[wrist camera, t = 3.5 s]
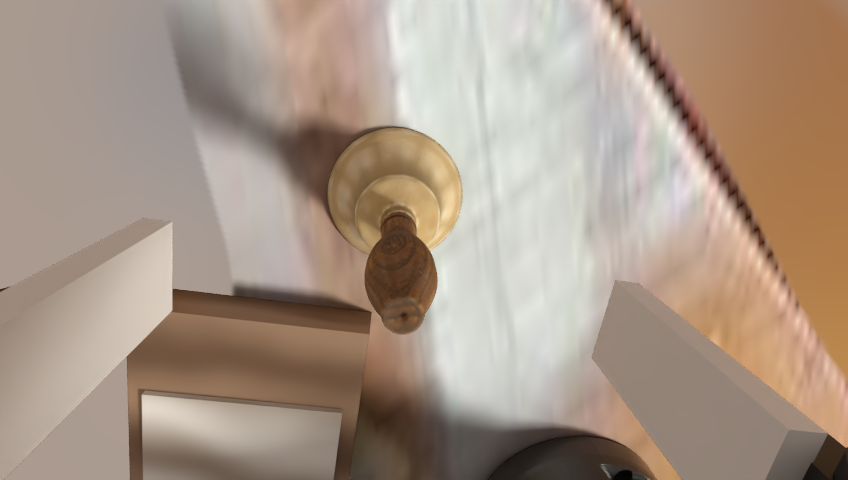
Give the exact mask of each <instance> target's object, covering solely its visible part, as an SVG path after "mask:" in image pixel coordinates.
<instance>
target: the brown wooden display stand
mask: <svg viewBox="0 0 848 480" xmlns="http://www.w3.org/2000/svg"><path fill="white" fill-rule="evenodd" d="M370 322H371V312H365V311H357V310H348V309H340V308H331V307H323V306H314V305H306V304H297V303H289V302H280V301H272V300H263V299H255V298H246V297H238V296H229V295H221V294H212V293H203V292H195V291H187V290H178V289H172V311H171V312H170V313H169V314H168V315H167V316H166V317H165V318H164V319H163V320H162V321H161V322H160V323H159V324H158V325H157V326H156V327H155V328H154V329H153V330H152V331H151V332H150V333H149V334H148V336H147V337H146V338H145V339H144V340H143V341H142V342H141V343H140V344H139V345H138V346H137V347H136V348H135V349H134V350H133V351H132V352H131V353H130V354H129V355H128V356H127V378H128V416H129V456H130V480H349V474H350V467H351V460H352V453H353V445H354V438H355V431H356V424H357V417H358V410H359V403H360V396H361V389H362V382H363V375H364V368H365V361H366V354H367V347H368V340H369V332H370Z"/></svg>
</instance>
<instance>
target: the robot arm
mask: <svg viewBox="0 0 848 480" xmlns="http://www.w3.org/2000/svg"><path fill="white" fill-rule="evenodd" d="M171 311H172V222H171V221H163V220H155V219H148V218H142V219H140V220H139V221H137V222H135V223H133V224H131V225H129V226H127V227H125V228H123V229H121V230H119V231H117V232H115V233H114V234H112V235H110V236H108V237H106V238H104V239H102V240H100V241H98V242H96V243H94V244H92V245H90V246H88V247H86V248H85V249H82V250H81V251H79V252H77V253H75V254H73V255H71V256H69V257H67V258H65V259H63V260H61V261H59V262H57V263H56V264H53V265H52V266H50V267H48V268H46V269H44V270H42V271H40V272H38V273H36V274H34V275H32V276H30V277H28V278H27V279H24V280H23V281H21V282H19V283H17V284H15V285H13V286H11V287H7V288H3V289H0V480H4V479H5V478H6V477H7V476H8V475H9V474H10V473H11V472H12V471H13V470H14V469H15V468H16V467H17V466H18V465H19V464H20V463H21V462H22V461H23V460H24V459H25V458H26V457H27V456H28V455H29V454H30V453H31V452H32V451H33V450H34V449H35V448H36V447H37V446H38V445H39V444H40V443H41V442H42V441H43V440H44V439H45V438H46V437H47V436H48V435H49V434H50V433H51V432H52V431H53V430H54V429H55V428H56V427H57V426H58V425H59V424H60V423H61V422H62V421H63V420H64V419H65V418H66V417H67V416H68V415H69V414H70V413H71V412H72V411H73V410H74V409H75V408H76V407H77V406H78V405H79V404H80V403H81V402H82V401H83V400H84V399H85V398H86V397H87V396H88V395H89V394H90V393H91V392H92V391H93V390H94V389H95V388H96V387H97V386H98V385H99V383H101V382H102V381H103V380H104V379H105V378H106V376H108V375H109V374H110V373H111V372H112V371H113V370H114V369H115V368H116V367H117V365H118V364H120V362H122V361H123V360H124V358H126V357H127V356H128V355H129V354H130V353H131V352H132V351H133V350H134V349H135V348H136V347H137V346H138V345H139V344H140V343H141V342H142V341H143V340H144V339H145V338H146V337H147V336H148V334H149V333H150V332H151V331H152V330H153V329H154V328H155V327H156V326H157V325H158V324H159V323H160V322H161V321H162V320H163V319H164V318H165V317H166V316H167V315H168V314H169V313H170V312H171ZM592 359H593V360H594V361H595V363H596V364H597V365H598V367H599V368H600V369H601V371H602V372H603V374H604V375H605V376H606V378H607V379H608V380H609V382H610V383H611V384H612V386H613V387H614V388H615V390H616V391H617V392H618V394H619V395H620V397H621V398H622V399H623V401H624V402H625V403H626V405H627V406H628V407H629V409H630V410H631V411H632V413H633V414H634V416H635V417H636V418H637V420H638V421H639V422H640V424H641V425H642V426H643V428H644V429H645V430H646V432H647V433H648V434H649V436H650V437H651V439H652V440H653V441H654V443H655V444H656V445H657V447H658V448H659V449H660V451H661V452H662V453H663V455H664V456H665V457H666V459H667V460H668V462H669V463H670V464H671V466H672V467H673V468H674V470H675V471H676V472H677V474H678V475H679V476H680V478H681V479H682V480H848V448H845V447H844V446H843V445H841V444H840V443H839V442H838V441H836V440H835V439H834V438H833V437H831V436H830V435H829V434H828V433H827V432H826V431H824V430H823V429H822V428H821V427H819V426H818V425H817V424H816V423H814V422H813V421H812V420H811V419H809V418H808V417H807V416H806V415H804V414H803V413H802V412H800V411H799V410H798V409H797V408H795V407H794V406H793V405H792V404H790V403H789V402H788V401H787V400H785V399H784V398H783V397H782V396H780V395H779V394H778V393H776V392H775V391H774V390H773V389H771V388H770V387H769V386H768V385H766V384H765V383H764V382H763V381H761V380H760V379H759V378H758V377H756V376H755V375H754V374H752V373H751V372H750V371H749V370H747V369H746V368H745V367H744V366H742V365H741V364H740V363H739V362H737V361H736V360H735V359H734V358H732V357H731V356H730V355H729V354H727V353H726V352H725V351H723V350H722V349H721V348H720V347H718V346H717V345H716V344H715V343H713V342H712V341H711V340H710V339H708V338H707V337H706V336H705V335H703V334H702V333H701V332H699V331H698V330H697V329H696V328H694V327H693V326H692V325H691V324H689V323H688V322H687V321H686V320H684V319H683V318H682V317H681V316H679V315H678V314H677V313H675V312H674V311H673V310H672V309H670V308H669V307H668V306H667V305H665V304H664V303H663V302H662V301H660V300H659V299H658V298H657V297H655V296H654V295H653V294H652V293H650V292H649V291H648V290H646V289H645V288H644V287H643V286H641V285H640V284H639V283H633V282H626V281H618V280H615V283H614V286H613V290H612V293H611V296H610V299H609V303H608V306H607V309H606V312H605V315H604V319H603V322H602V325H601V328H600V332H599V335H598V338H597V341H596V345H595V348H594V351H593V354H592ZM488 480H657V479H656V477H655V476H654V474H653V473H652V471H651V470H650V468H649V467H648V466H647V464H646V463H645V462H644V461H643V460H642V459H641V458H640V457H639V456H638V455H637V454H635V453H634V452H633V451H631V450H630V449H628V448H626V447H624V446H622V445H620V444H618V443H615V442H612V441H609V440H605V439H601V438H595V437H566V438H559V439H554V440H550V441H546V442H543V443H540V444H537V445H535V446H532V447H530V448H528V449H526V450H524V451H522V452H520V453H518V454H517V455H515V456H514V457H512V458H511V459H509V460H508V461H507V462H505V463H504V464H503V465H502V466H500V467H499V468H498V469H497V470H496V471H495V472H494V473H493V474H492V476H491V477H490V478H489V479H488Z"/></svg>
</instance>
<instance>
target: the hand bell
mask: <svg viewBox="0 0 848 480" xmlns="http://www.w3.org/2000/svg"><path fill="white" fill-rule="evenodd" d="M328 204H329V209H330V213H331V216H332V218H333V221H334V223H335V225H336V227H337V228H338V230H339V231H340V233H341V234H342V235H343V237H344V238H345V239H346V240H347V241H348V242H349V243H351V244H352V245H353V246H354V247H356V248H357V249H359V250H360V251H362V252H364V253H365V254H368V255H369V257H368V260H367V264H366V269H365V288H366V292H367V295H368V298H369V300H370V302H371V304H372V306H373V307H374V309H375V310H376V312H377V313H378V314H379V315H380V316H381V318H382V321H383V323H384V326H385V327H386V328H387V329H389V330H390V331H392V332H393V333H396V334H409V333H412V332H414V331H416V330H417V329H418V328H419V327H420V326H421V324H422V322H423V320H424V316H425V313H426V312H427V310H428V309H429V307H430V305H431V303H432V301H433V299H434V296H435V294H436V290H437V272H436V267H435V263H434V259H433V257H432V254H431V253H430V250H432V249H433V248H435V247H436V246H437V245H439V244H440V243H441V242H442V241H443V240H444V239H445V238H446V237H447V235H448V234H449V233H450V232H451V230H452V229H453V227H454V225H455V223H456V221H457V219H458V217H459V213H460V210H461V205H462V183H461V179H460V175H459V172H458V169H457V167H456V165H455V163H454V161H453V160H452V158H451V156H450V155H449V154H448V153H447V151H446V150H445V149H444V148H443V147H442V146H441V145H440V144H439V143H437V142H436V141H435V140H433V139H431V138H430V137H428V136H426V135H424V134H422V133H420V132H417V131H414V130H410V129H405V128H385V129H380V130H376V131H373V132H371V133H368V134H366V135H363V136H362V137H360V138H358V139H357V140H355V141H354V142H352V143H351V145H349V146H348V147H347V148H346V149H345V150H344V151H343V152H342V154H341V155H340V157H339V158H338V160H337V161H336V163H335V165H334V167H333V170H332V172H331V175H330V179H329V183H328Z"/></svg>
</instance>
